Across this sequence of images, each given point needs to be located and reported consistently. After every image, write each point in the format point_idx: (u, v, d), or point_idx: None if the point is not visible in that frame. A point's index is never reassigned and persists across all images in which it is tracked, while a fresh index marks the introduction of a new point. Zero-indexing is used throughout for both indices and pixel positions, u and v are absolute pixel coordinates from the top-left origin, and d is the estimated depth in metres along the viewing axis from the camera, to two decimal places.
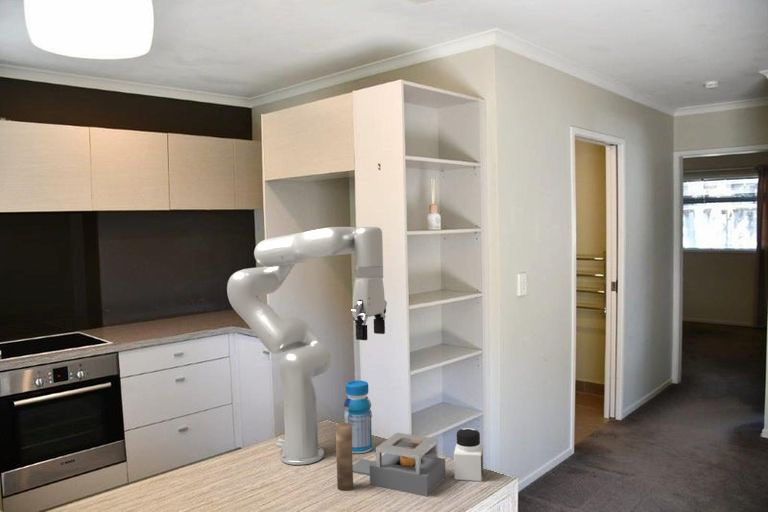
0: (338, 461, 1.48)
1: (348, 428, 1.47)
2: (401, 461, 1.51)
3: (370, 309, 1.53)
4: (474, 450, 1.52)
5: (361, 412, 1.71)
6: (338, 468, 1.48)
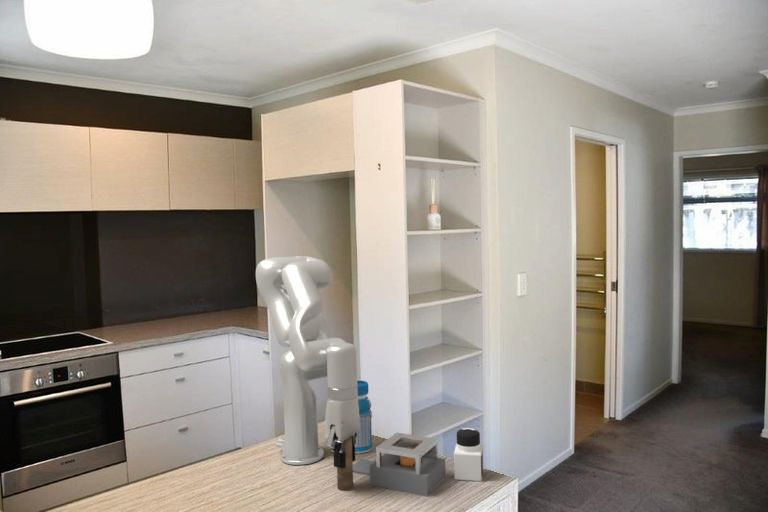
0: None
1: None
2: (401, 461, 1.51)
3: (343, 434, 1.44)
4: (474, 450, 1.52)
5: (361, 412, 1.71)
6: (338, 468, 1.48)
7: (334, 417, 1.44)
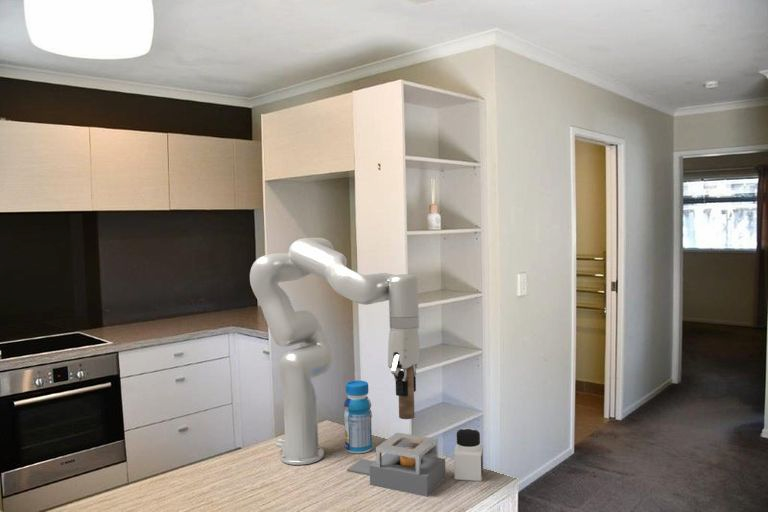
0: None
1: None
2: (401, 461, 1.51)
3: (406, 362, 1.46)
4: (474, 450, 1.52)
5: (361, 412, 1.71)
6: (400, 397, 1.50)
7: (397, 345, 1.46)
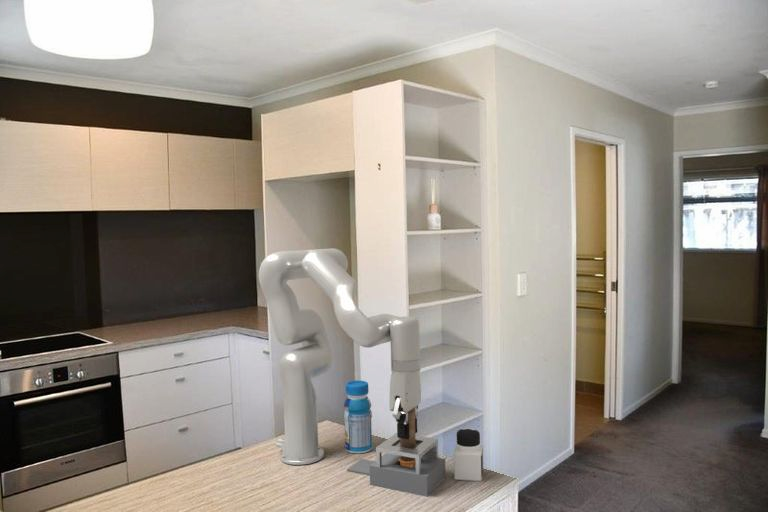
0: None
1: None
2: None
3: (408, 405, 1.47)
4: (474, 450, 1.52)
5: (361, 412, 1.71)
6: (402, 439, 1.50)
7: (399, 388, 1.46)
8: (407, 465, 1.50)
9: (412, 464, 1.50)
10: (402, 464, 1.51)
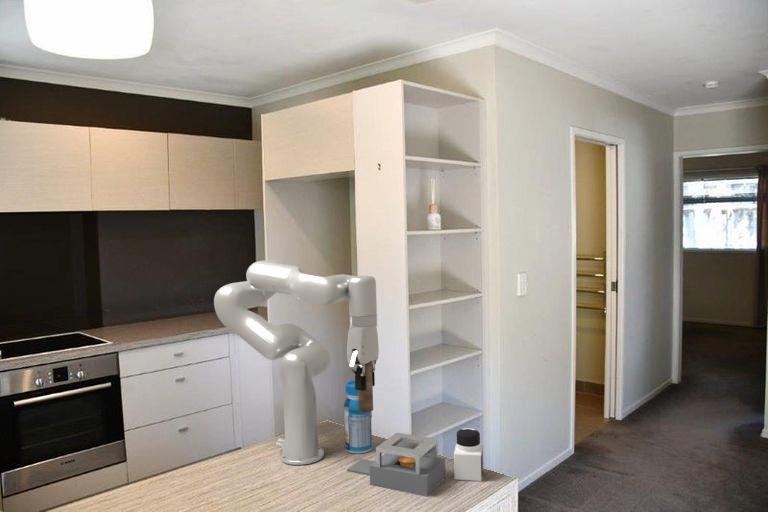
0: None
1: None
2: None
3: (364, 358, 1.56)
4: (474, 450, 1.52)
5: (361, 412, 1.71)
6: (359, 391, 1.59)
7: (356, 342, 1.55)
8: (407, 465, 1.50)
9: (412, 464, 1.50)
10: (402, 464, 1.51)
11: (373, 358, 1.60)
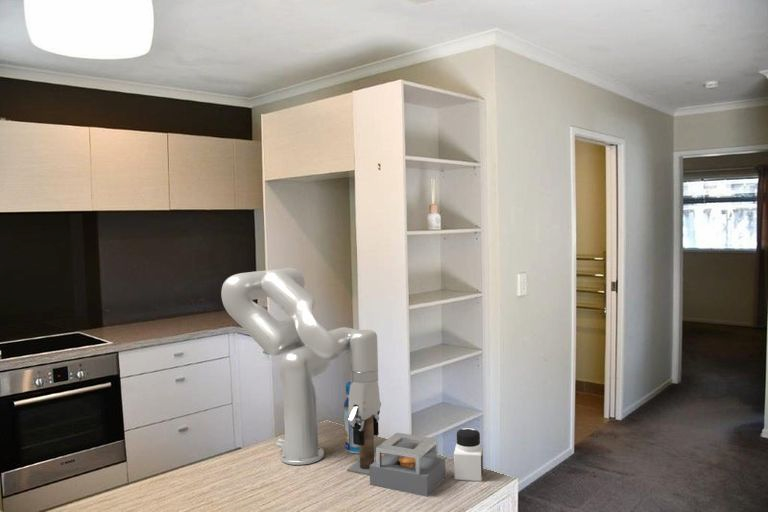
0: None
1: None
2: None
3: (365, 413, 1.56)
4: (474, 450, 1.52)
5: None
6: (361, 448, 1.60)
7: (357, 398, 1.56)
8: (407, 465, 1.50)
9: (412, 464, 1.50)
10: (402, 464, 1.51)
11: (374, 412, 1.61)
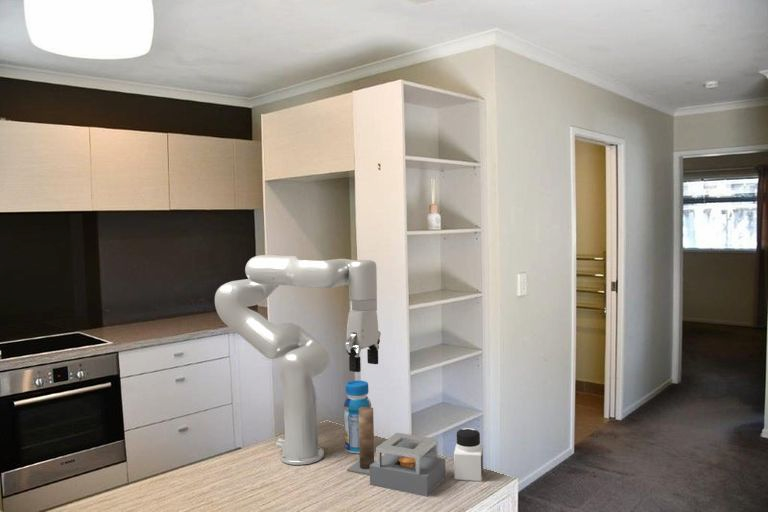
0: (361, 442, 1.60)
1: (370, 411, 1.59)
2: None
3: (363, 341, 1.56)
4: (474, 450, 1.52)
5: None
6: (361, 448, 1.60)
7: (355, 325, 1.55)
8: (407, 465, 1.50)
9: (412, 464, 1.50)
10: (402, 464, 1.51)
11: (373, 342, 1.60)
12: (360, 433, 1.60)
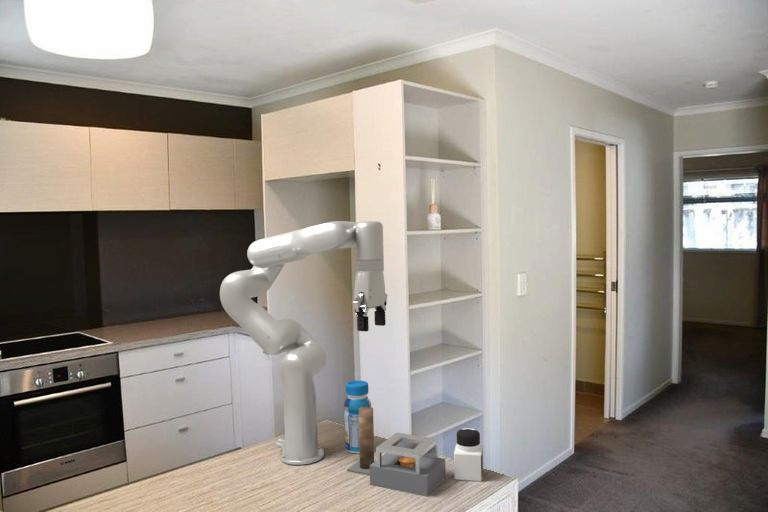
0: (361, 442, 1.60)
1: (370, 411, 1.59)
2: None
3: (371, 301, 1.57)
4: (474, 450, 1.52)
5: None
6: (361, 448, 1.60)
7: (363, 285, 1.57)
8: (407, 465, 1.50)
9: (412, 464, 1.50)
10: (402, 464, 1.51)
11: (380, 303, 1.62)
12: (360, 433, 1.60)
